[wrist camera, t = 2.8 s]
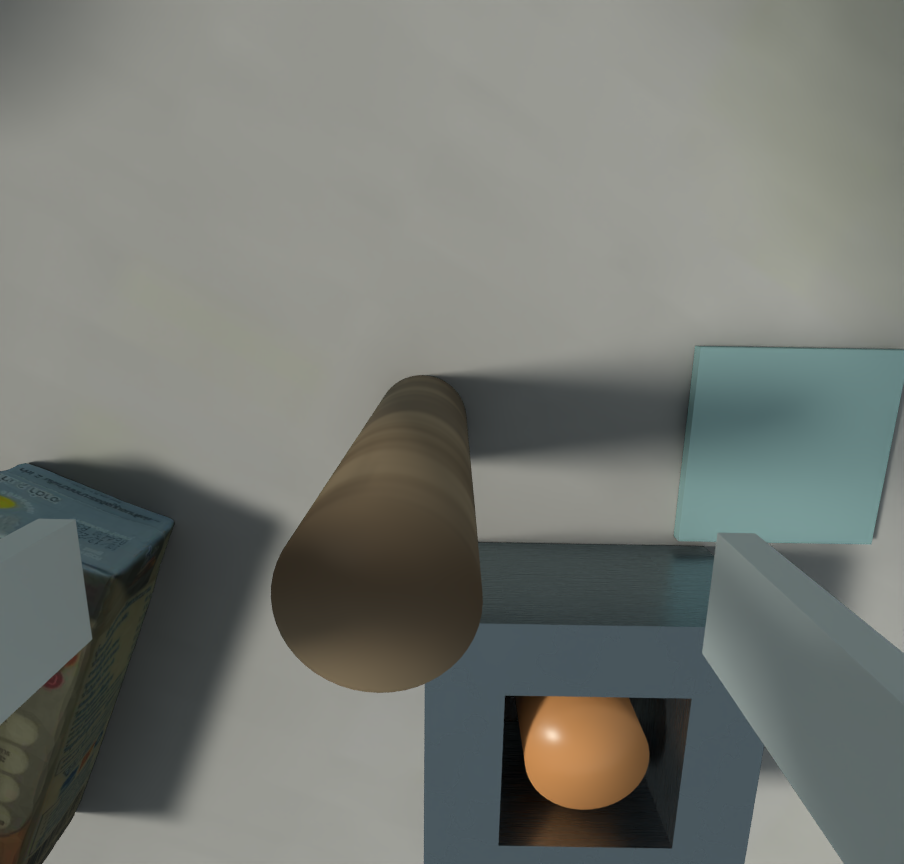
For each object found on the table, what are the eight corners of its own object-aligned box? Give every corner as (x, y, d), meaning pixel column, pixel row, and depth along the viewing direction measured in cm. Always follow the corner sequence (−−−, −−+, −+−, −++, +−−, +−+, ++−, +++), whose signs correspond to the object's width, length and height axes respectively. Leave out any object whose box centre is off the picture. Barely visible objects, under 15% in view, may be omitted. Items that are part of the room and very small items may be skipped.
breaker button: (515, 631, 28) (527, 704, 23) (620, 633, 28) (655, 706, 23) (510, 721, 29) (522, 808, 24) (611, 723, 29) (643, 810, 24)
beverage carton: (190, 518, 28) (112, 586, 22) (84, 815, 32) (-7, 945, 26) (27, 453, 27) (-104, 504, 21) (-59, 766, 32) (-190, 888, 25)
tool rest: (695, 345, 26) (701, 347, 25) (899, 349, 26) (909, 350, 25) (673, 535, 28) (678, 541, 27) (862, 538, 28) (871, 544, 27)
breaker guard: (432, 541, 28) (424, 622, 21) (703, 546, 28) (783, 628, 21) (430, 768, 31) (423, 902, 24) (674, 772, 31) (736, 907, 24)
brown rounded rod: (377, 374, 26) (265, 498, 11) (467, 376, 26) (485, 502, 11) (378, 460, 27) (276, 690, 12) (465, 462, 27) (479, 694, 12)
